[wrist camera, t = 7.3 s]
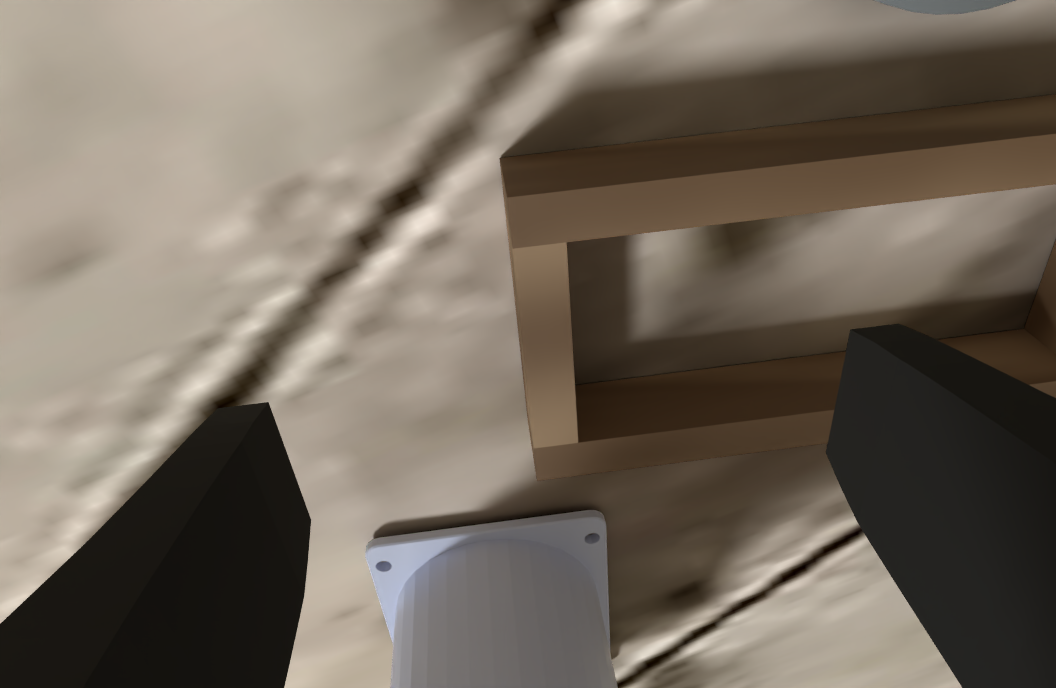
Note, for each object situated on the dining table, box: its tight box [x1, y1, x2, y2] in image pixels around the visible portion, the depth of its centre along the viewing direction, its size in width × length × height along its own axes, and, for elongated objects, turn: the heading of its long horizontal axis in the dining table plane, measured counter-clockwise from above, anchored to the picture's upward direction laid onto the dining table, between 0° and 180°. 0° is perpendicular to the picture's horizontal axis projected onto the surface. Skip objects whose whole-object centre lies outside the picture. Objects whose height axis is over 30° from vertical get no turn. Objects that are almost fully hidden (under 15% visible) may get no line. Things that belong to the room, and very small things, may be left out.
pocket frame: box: [500, 94, 1056, 481], centre depth 19 cm, size 8×16×2 cm, turn 95°
